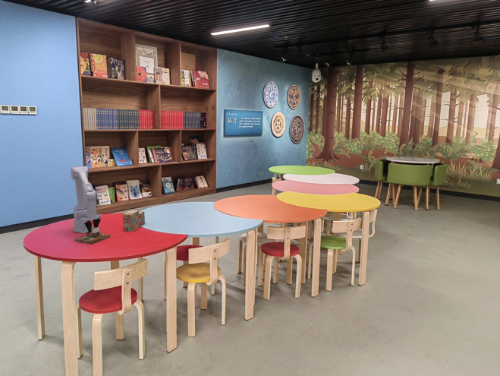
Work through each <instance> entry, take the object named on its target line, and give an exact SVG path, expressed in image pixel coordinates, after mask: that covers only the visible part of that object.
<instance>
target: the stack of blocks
mask: <svg viewBox="0 0 500 376" xmlns="http://www.w3.org/2000/svg"><path fill="white" fill-rule="evenodd" d="M145 216H146V215H145V211H144V210H137V209H130V210H128V211H126V212H125V213H123V214H122V224H123V225H122V226H123V228H122V229H123V232H130V233H131V232H134V231H136V230H137V229H138V228H140V227H142V226H143V225H144V223H145V224H146V220H145V219H146V217H145ZM142 224H143V225H142Z"/></svg>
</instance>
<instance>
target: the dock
mask: <svg viewBox="0 0 500 376" xmlns="http://www.w3.org/2000/svg"><path fill="white" fill-rule="evenodd" d="M109 238H111V234H108V233H102V232H99V234H95V235H92V233H90V234H86V235H83V236H80V237H78V238H75V239H74V242H78V243H83V244H89V245H94V244H96V243H99V242H101V241H104V240H107V239H109Z"/></svg>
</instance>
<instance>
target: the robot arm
mask: <svg viewBox="0 0 500 376" xmlns="http://www.w3.org/2000/svg"><path fill="white" fill-rule="evenodd" d="M88 176H89V167H88V166H87V165H84V166H83V165H82V166H71V167H70V178H71V180H74V185H75V193H76V201H77V202H76V203H77V204H76V205H75V206H74V207H73V217H74V219H73V222H72V223H73V231H72V232H76V233H80V234H85V233H86V229H84V228H86V227H87V230H88V232H90V234H91V232H92V227H98V228H99V225H100V223H101V222H102V221H101V220H102V218H103V215H102V214H98V213H97V200H98V193H97V191H96V189H94V188H93V185H92V183H91V182H89V180H88Z"/></svg>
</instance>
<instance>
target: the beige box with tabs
mask: <svg viewBox="0 0 500 376" xmlns="http://www.w3.org/2000/svg"><path fill="white" fill-rule="evenodd" d="M84 229H86V232H85V233H86V235H88V234H91V233H92V235H95V234H99V233H100V227H99V226H98V227H94V226H92V232H91V233H90V232H88V230H87V227H86V228H84Z"/></svg>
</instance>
